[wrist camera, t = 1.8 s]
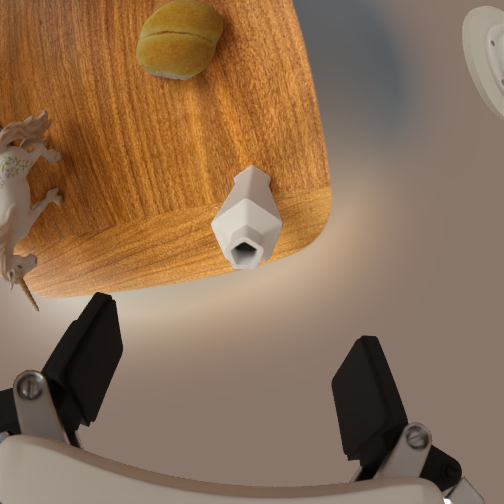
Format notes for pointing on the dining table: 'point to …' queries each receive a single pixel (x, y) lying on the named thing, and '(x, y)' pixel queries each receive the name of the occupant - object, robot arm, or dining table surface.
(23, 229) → the unicorn figurine
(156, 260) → the dining table surface
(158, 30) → the bread roll
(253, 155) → the dining table surface
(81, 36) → the dining table surface
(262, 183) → the white faceted vase
